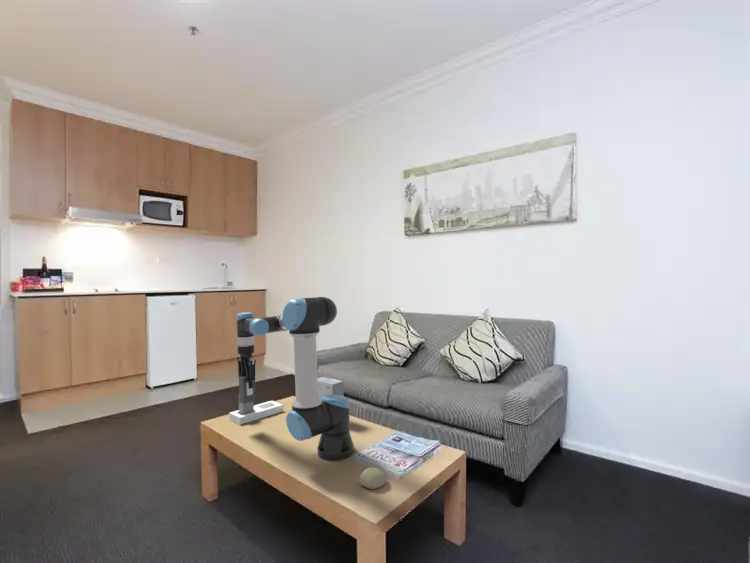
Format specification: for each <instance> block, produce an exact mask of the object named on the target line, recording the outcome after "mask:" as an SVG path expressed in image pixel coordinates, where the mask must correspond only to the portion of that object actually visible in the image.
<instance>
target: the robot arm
mask: <svg viewBox="0 0 750 563" xmlns="http://www.w3.org/2000/svg"><path fill="white" fill-rule="evenodd" d="M283 307H284V308H283V309H282V314H280V315H275V316H274V315H273V316H263V317H254V314H253V312H250V311H249V312H247V311H245V312H240V313H237V315H236V334H237V336H236V338H237V339H236V342H237V355H239V356H238V357H236V360H237V371H238V372H237V374H238V375H237V376H238V378H239V377H242V376H246V375H247V381H246V384H247V396H249V395H252V394H253V381H254V380H255V381H256V363H257V361H256V359H253V355H252V354H254V353H255V345H254V344H255V336H256V337H257V336H264V335H266V334H271V333H276V332H277V333H278V332H279V333H280V332H287V331H288V333H289V335H290V336H291V337H292V339H293V354H294V355H293V357H294V358H293V359H294V360H293V361H294V385H295V389H294V390H295V399H294V401H292V404H291V410H290V411H289V412H288V413H287V414H286V418H285V422H286V423H285V424H286V427H287V430H288V432H289V433H290V435H291V436H292V438H294V439H295V440H296V441H300V442H301V441H306V440H310V439H312V438H314V437H316V436H319V435H320V438H319V441H318V445H317V455H318V457H320V458H321V459H324V460H329V461H338V460H344V459H347V458H349V457H351V456H352V455H353V454H354V452H355V444H354V442H353V439H352V436H351V432H350V400H349V399H348V398H347V396H341V395H324V396H322V397H321V399H320V398H318V381H317V378H318V361H317V358H318V356H317V336H318V335H319V334H320V331H321V330H320V327H323V326H326V325H329V324H331V323H332V322H334V320H335V319H336V317H337V314H338V309H337V305H336V304H335V302H334V301H333V300H332V299H330V298H328V297H327V296H326V297H325V296H317V297H316V296H315V297H300V298H294V299H291V300H289V301H288V302H286V304H285V305H284V306H283Z"/></svg>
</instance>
